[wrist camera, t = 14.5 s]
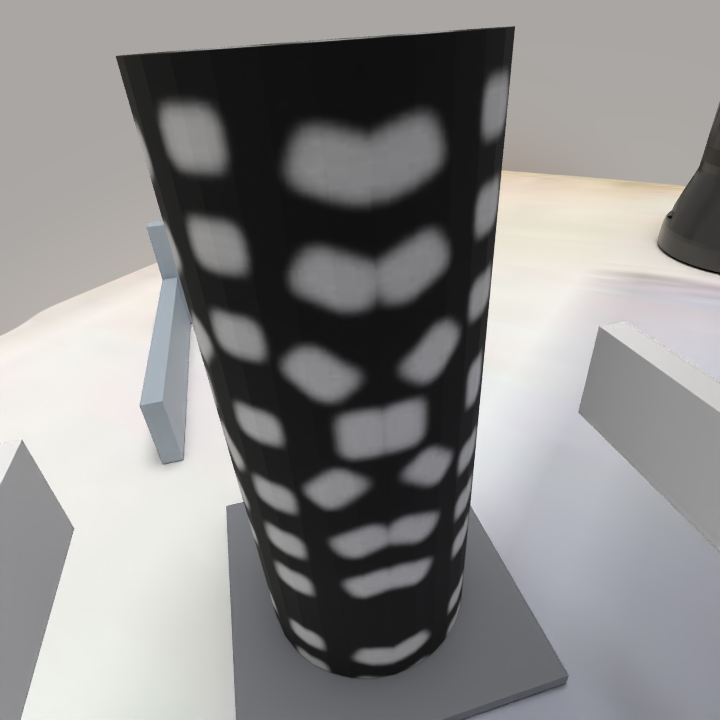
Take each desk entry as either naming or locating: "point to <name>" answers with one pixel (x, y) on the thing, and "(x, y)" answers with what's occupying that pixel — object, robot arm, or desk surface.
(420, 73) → the spotted tube
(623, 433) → the robot arm
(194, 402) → the desk surface
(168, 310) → the bay
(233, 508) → the mat
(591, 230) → the desk surface
